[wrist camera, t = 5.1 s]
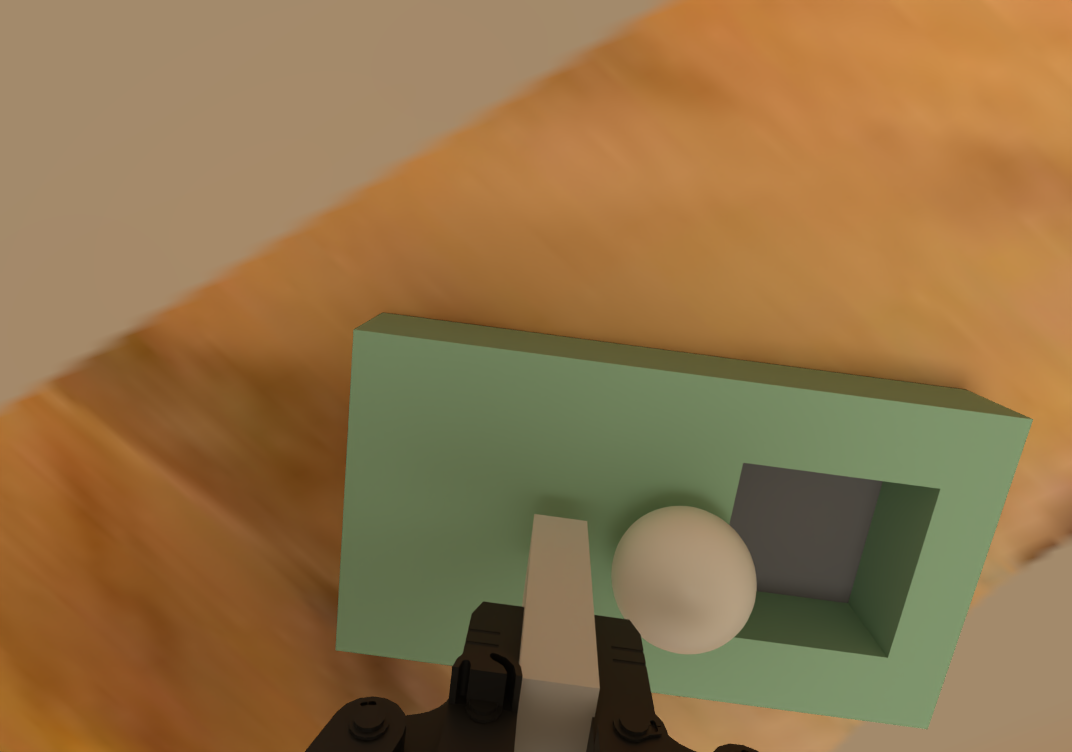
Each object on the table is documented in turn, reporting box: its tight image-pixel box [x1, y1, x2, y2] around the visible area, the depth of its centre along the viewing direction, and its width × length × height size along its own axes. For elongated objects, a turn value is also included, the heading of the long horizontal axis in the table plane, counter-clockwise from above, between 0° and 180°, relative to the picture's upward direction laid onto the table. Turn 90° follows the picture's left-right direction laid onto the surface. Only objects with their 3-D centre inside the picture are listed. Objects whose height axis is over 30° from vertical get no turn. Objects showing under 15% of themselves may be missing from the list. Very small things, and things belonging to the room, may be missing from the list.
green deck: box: [336, 313, 1033, 729], centre depth 22 cm, size 20×11×3 cm, turn 83°
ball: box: [611, 506, 757, 654], centre depth 18 cm, size 4×4×4 cm
